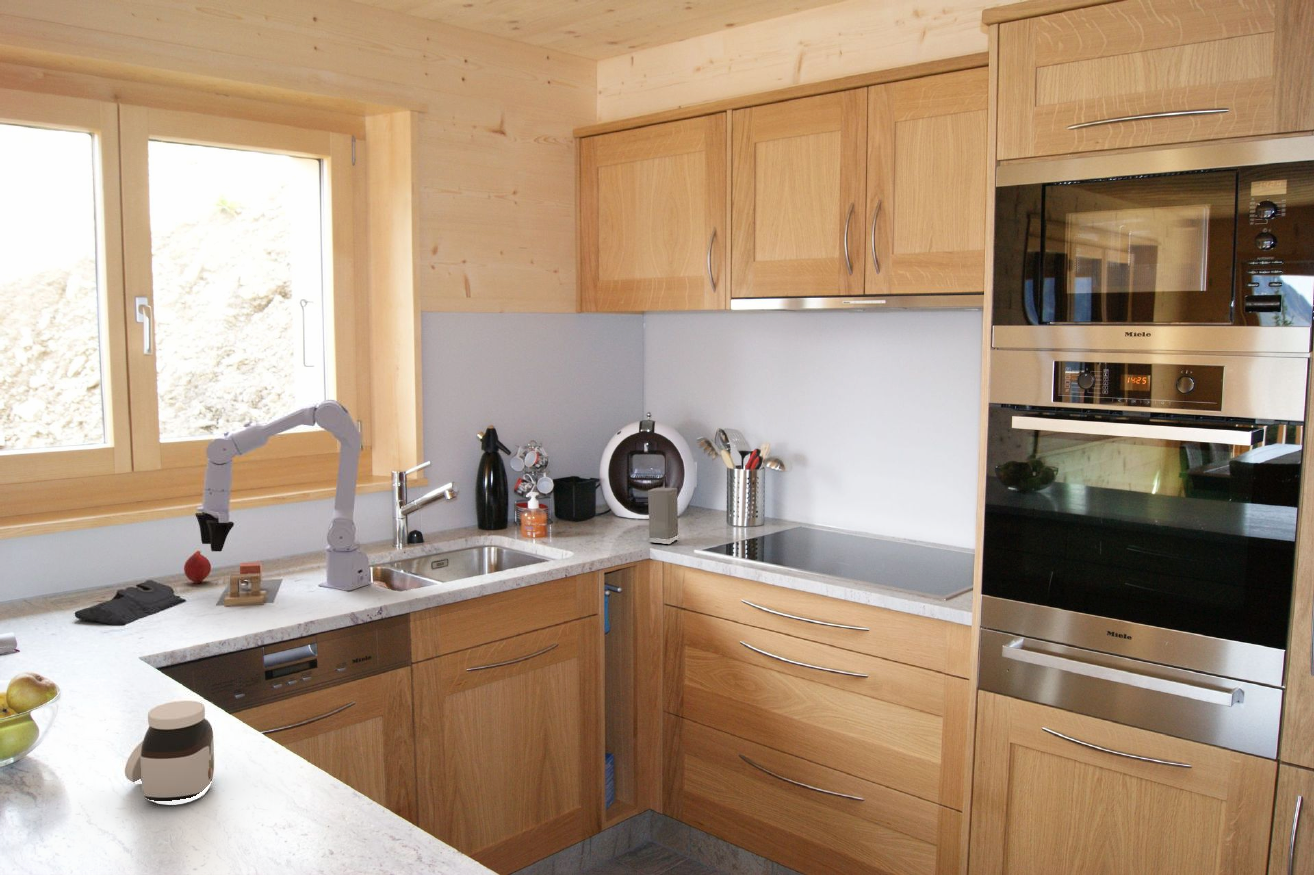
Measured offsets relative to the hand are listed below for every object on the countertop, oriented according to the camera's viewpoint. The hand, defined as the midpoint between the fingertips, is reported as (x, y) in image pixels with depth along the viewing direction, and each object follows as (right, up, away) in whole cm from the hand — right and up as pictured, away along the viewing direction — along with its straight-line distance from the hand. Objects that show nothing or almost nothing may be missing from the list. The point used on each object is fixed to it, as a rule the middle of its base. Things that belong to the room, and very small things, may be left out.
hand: (211, 547), depth 240 cm
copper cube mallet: (+10, -9, -4) cm, 14 cm away
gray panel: (+9, -11, +1) cm, 14 cm away
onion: (-7, -10, +8) cm, 15 cm away
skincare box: (+104, -5, +63) cm, 122 cm away
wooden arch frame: (+11, -11, -8) cm, 18 cm away
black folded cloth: (-11, -13, -15) cm, 23 cm away
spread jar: (+37, -22, -101) cm, 109 cm away
